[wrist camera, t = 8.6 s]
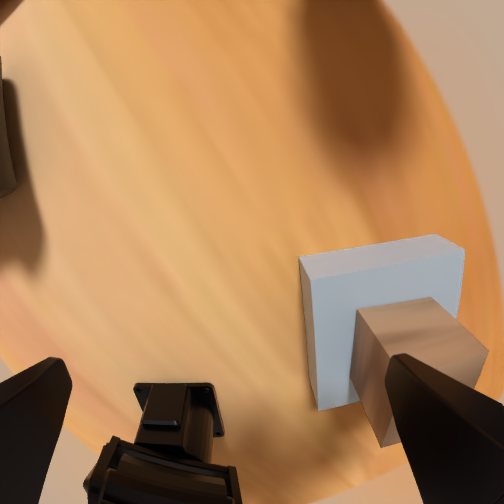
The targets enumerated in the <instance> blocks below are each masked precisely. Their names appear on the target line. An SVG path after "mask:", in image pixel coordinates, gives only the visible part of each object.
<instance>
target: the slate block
mask: <svg viewBox="0 0 504 504" xmlns="http://www.w3.org/2000/svg"><path fill="white" fill-rule="evenodd" d="M464 258H465V249H463V248H461V247H460V246H458V245H456V244H454V243H452V242H450V241H448V240H447V239H445V238H443V237H441V236H439V235H437V234H431V235H425V236H419V237H414V238H408V239H402V240H396V241H390V242H384V243H378V244H372V245H366V246H360V247H354V248H348V249H342V250H336V251H330V252H324V253H317V254H311V255H305V256H299V266H300V275H301V285H302V295H303V306H304V317H305V328H306V340H307V352H308V366H309V379H310V382H311V386H312V390H313V393H314V397H315V401H316V404H317V408H318V411H321V410H325V409H330V408H335V407H339V406H344V405H348V404H352V403H356V402H360V399H359V397H358V394H357V392H356V390H355V388H354V386H353V383H352V381H351V379H350V370H351V362H352V354H353V346H354V336H355V326H356V315H357V309H360V308H367V307H374V306H380V305H386V304H393V303H399V302H404V301H410V300H416V299H421V298H427V297H432V298H433V299H434V300H435V301H436V302H437V303H439V304H440V305H441V306H442V307H443V308H444V309H445V310H446V311H448V312H449V313H450V314H451V315H452V316H453V317H454V318H455V319H457V313H458V307H459V301H460V294H461V286H462V278H463V269H464Z"/></svg>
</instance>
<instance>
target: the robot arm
mask: <svg viewBox="0 0 504 504" xmlns="http://www.w3.org/2000/svg"><path fill="white" fill-rule="evenodd" d="M384 385H385V389H386V392H387V396H388V400H389V403H390V407H391V411H392V414H393V418H394V422H395V426H396V429H397V432H398V435H399V437H400V440H401V443H402V445H403V448H404V451H405V453H406V456H407V458H408V461H409V464H410V466H411V469H412V472H413V475H414V477H415V480H416V483H417V486H418V489H419V492H420V495H421V498H422V500H423V504H504V406H503V405H502V404H501V403H499V402H497V401H496V400H494V399H492V398H490V397H488V396H486V395H484V394H482V393H480V392H478V391H476V390H474V389H473V388H471V387H469V386H467V385H465V384H463V383H461V382H459V381H457V380H455V379H454V378H452V377H450V376H448V375H446V374H444V373H442V372H440V371H438V370H437V369H435V368H433V367H431V366H429V365H427V364H425V363H424V362H422V361H420V360H418V359H416V358H414V357H412V356H410V355H409V354H407V353H401V354H394V355H392V356H391V358H390V360H389V364H388V367H387V371H386V374H385V378H384ZM138 388H139V389H138ZM206 388H207V389H209V390H207V389H206ZM140 389H141V390H140ZM71 390H72V380H71V377H70V375H69V372H68V370H67V367H66V365H65V363H64V361H63V360H62V359H61V358H56V357H48V358H46V359H45V360H43V361H41V362H39V363H37V364H35V365H33V366H31V367H29V368H28V369H26V370H24V371H22V372H20V373H18V374H16V375H14V376H12V377H11V378H9V379H7V380H5V381H3V382H1V383H0V504H38V503H39V499H40V496H41V492H42V488H43V485H44V481H45V478H46V474H47V471H48V468H49V465H50V462H51V459H52V456H53V453H54V449H55V446H56V443H57V441H58V438H59V435H60V431H61V429H62V425H63V421H64V417H65V413H66V409H67V405H68V401H69V398H70V394H71ZM133 390H134V393H135V395H136V397H137V400H138V402H139V404H140V407H141V409H142V411H143V414H142V417H141V422H140V425H139V428H138V432H137V435H136V438H135V441H134V444H133V443H130V442H127V441H124V440H121V439H120V438H119V437H116V436H112V438H111V440H110V442H109V443H107V444H106V445H104V446H103V449H102V452H101V454H100V457H99V459H98V461H97V463H96V465H95V466H94V468H93V469H92V470H91V472H90V473H89V474H88V476H87V477H86V479H85V480H84V483H83V487H84V489H85V491H86V492H87V494H88V504H242V499H241V493H240V488H239V482H238V477H237V471H236V467H234V466H221V465H216V464H211V456H212V443H213V437H222V436H223V435H224V428H223V424H222V420H221V416H220V412H219V407H218V403H217V399H216V394H215V390H214V386H213V385H212V384H210V383H136V384H135V386H134V388H133Z"/></svg>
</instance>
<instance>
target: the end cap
mask: <svg viewBox="0 0 504 504" xmlns="http://www.w3.org/2000/svg"><path fill="white" fill-rule="evenodd" d="M16 187H17V184H16V179H15V174H14V170H13V165H12V159H11V154H10V148H9V142H8V136H7V128H6V121H5V112H4V101H3V88H2V63H1V56H0V198H2V197H5V196H6V195H8V194H10V193H12V192H13V191H14V190H15V189H16Z"/></svg>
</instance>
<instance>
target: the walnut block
mask: <svg viewBox="0 0 504 504" xmlns="http://www.w3.org/2000/svg"><path fill="white" fill-rule="evenodd" d="M488 352H489V350H488V349H487V348H486V347H485V346H484V345H483V344H482V343H481V342H480V341H479V340H478V339H477V338H476V337H475V336H474V335H473V334H472V333H470V332H469V331H468V330H467V329H466V328H465V327H464V326H463V325H462V324H461V323H460V322H459V321H458V320H456V319H455V318H454V317H453V316H452V315H451V314H450V313H449V312H448V311H446V310H445V309H444V308H443V307H442V306H441V305H440V304H439V303H437V302H436V301H435V300H434V299H433V298H432V297H427V298H421V299H416V300H410V301H404V302H399V303H393V304H386V305H380V306H374V307H367V308H360V309H357V315H356V326H355V336H354V346H353V354H352V362H351V370H350V379H351V381H352V383H353V386H354V388H355V390H356V392H357V394H358V397H359V399H360V401H361V403H362V406H363V408H364V410H365V412H366V415H367V417H368V419H369V422H370V424H371V426H372V428H373V431H374V433H375V435H376V438H377V440H378V442H379V445H380V447H381V448H383V447H386V446H390V445H393V444H396V443H400V442H401V440H400V437H399V435H398V432H397V429H396V426H395V422H394V418H393V414H392V411H391V407H390V403H389V400H388V396H387V392H386V389H385V385H384V378H385V374H386V371H387V367H388V364H389V360H390V358H391V356H392V355H394V354H401V353H407V354H409V355H410V356H412V357H414V358H416V359H418V360H420V361H422V362H424V363H425V364H427V365H429V366H431V367H433V368H435V369H437V370H438V371H440V372H442V373H444V374H446V375H448V376H450V377H452V378H454V379H455V380H457V381H459V382H461V383H463V384H465V385H467V386H469V387H471V388H473V389H474V388H475V385H476V383H477V381H478V378H479V376H480V373H481V371H482V368H483V366H484V363H485V360H486V358H487V355H488Z"/></svg>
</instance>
